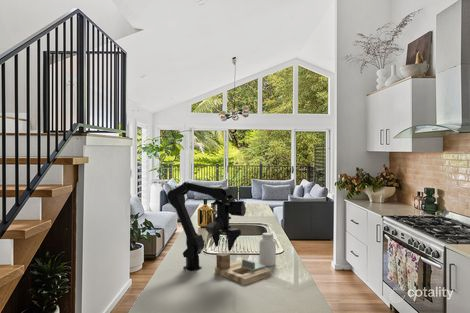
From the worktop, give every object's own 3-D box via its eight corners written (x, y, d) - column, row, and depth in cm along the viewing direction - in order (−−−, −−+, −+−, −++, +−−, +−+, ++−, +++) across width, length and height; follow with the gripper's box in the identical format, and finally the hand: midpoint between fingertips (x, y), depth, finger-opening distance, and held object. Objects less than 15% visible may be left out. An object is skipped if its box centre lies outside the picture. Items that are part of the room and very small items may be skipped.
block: (216, 267, 167) (216, 254, 167) (223, 265, 170) (223, 252, 170) (222, 269, 164) (222, 256, 164) (230, 267, 167) (229, 254, 167)
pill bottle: (276, 262, 182) (276, 232, 182) (274, 267, 174) (274, 236, 174) (261, 260, 184) (261, 231, 184) (258, 265, 176) (257, 235, 176)
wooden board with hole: (214, 272, 167) (214, 267, 167) (240, 264, 178) (240, 260, 178) (244, 284, 152) (244, 278, 152) (270, 275, 163) (270, 270, 163)
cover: (240, 266, 167) (240, 259, 167) (253, 262, 172) (253, 255, 172) (253, 270, 161) (253, 263, 161) (265, 266, 167) (265, 259, 166)
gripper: (196, 214, 168) (196, 247, 169) (222, 220, 154) (222, 256, 155) (215, 211, 176) (215, 243, 176) (241, 216, 162) (241, 251, 162)
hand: (223, 248), depth 167 cm, fingers open, 9 cm apart
